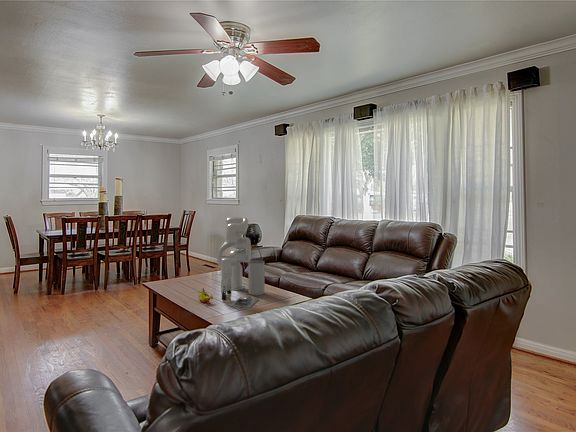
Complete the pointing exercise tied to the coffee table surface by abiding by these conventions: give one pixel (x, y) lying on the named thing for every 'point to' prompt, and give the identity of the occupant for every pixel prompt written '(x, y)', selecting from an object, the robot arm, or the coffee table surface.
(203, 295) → the yellow toy car
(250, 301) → the carrier plate
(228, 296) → the block
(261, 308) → the coffee table surface
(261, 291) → the cylinder vase
